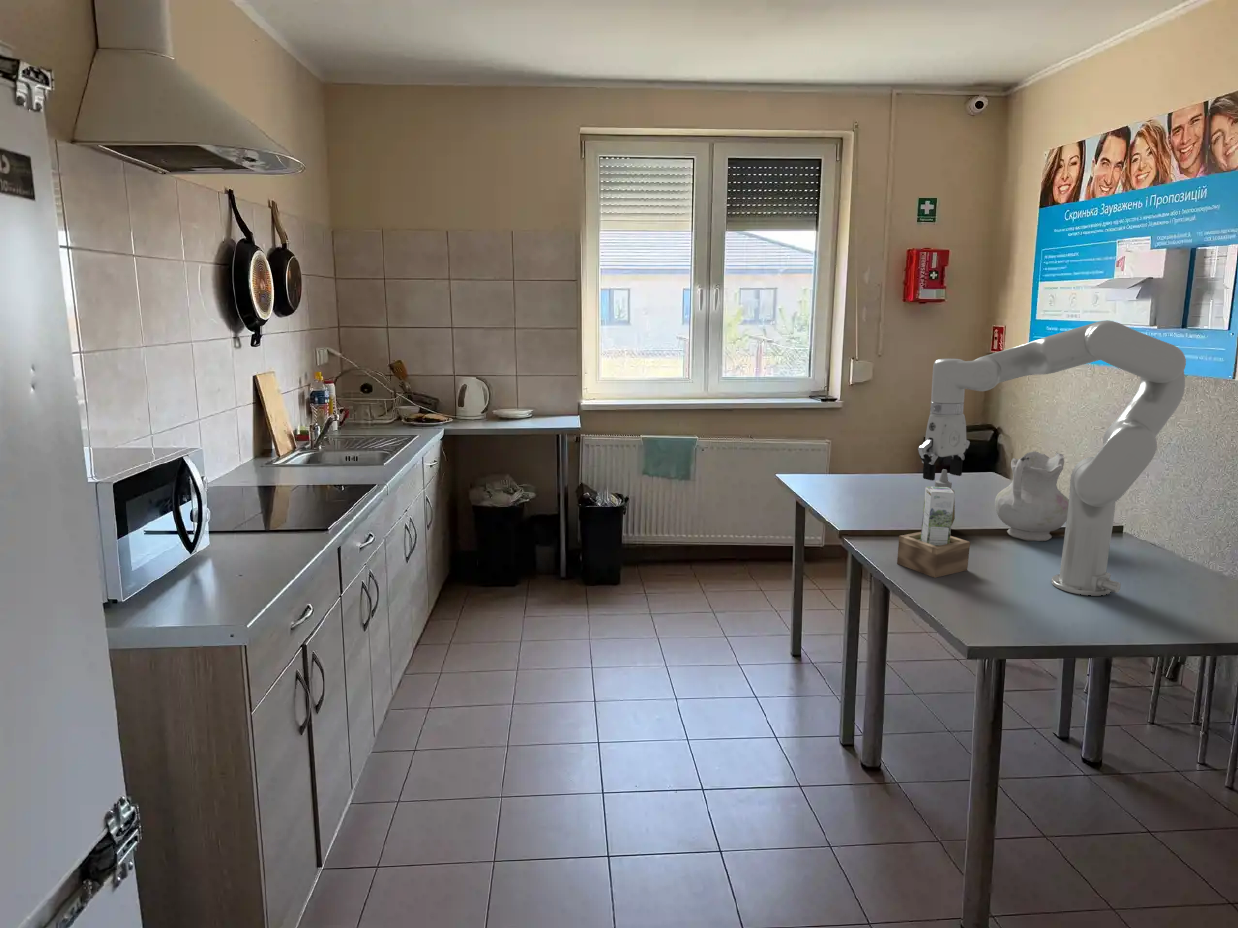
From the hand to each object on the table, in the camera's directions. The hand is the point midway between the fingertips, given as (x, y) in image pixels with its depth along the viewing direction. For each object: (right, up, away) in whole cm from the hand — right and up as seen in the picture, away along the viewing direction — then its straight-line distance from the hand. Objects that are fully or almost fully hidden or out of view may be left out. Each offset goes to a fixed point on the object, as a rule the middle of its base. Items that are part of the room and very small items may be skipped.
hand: (942, 477), depth 205 cm
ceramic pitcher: (+38, -18, +33) cm, 53 cm away
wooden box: (-1, -23, +5) cm, 24 cm away
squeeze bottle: (+14, -16, +39) cm, 45 cm away
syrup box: (0, -17, +4) cm, 18 cm away
